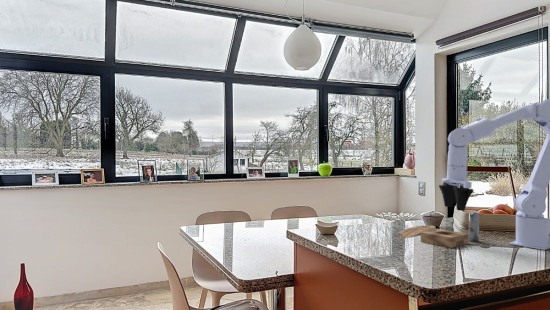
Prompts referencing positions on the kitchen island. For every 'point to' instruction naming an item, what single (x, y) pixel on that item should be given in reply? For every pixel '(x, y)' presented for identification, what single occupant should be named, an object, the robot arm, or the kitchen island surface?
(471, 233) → the steel peg
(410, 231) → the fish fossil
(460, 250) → the kitchen island surface
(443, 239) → the walnut hole block
